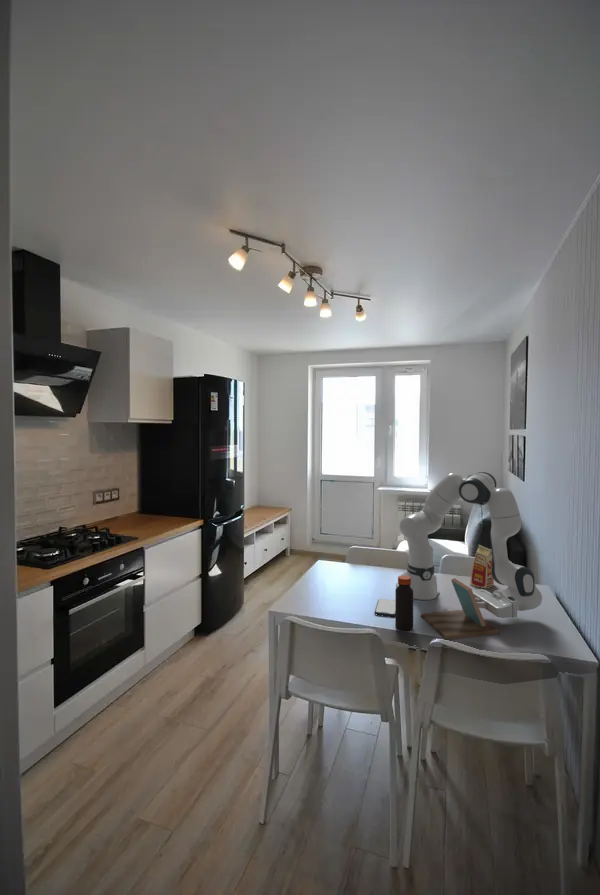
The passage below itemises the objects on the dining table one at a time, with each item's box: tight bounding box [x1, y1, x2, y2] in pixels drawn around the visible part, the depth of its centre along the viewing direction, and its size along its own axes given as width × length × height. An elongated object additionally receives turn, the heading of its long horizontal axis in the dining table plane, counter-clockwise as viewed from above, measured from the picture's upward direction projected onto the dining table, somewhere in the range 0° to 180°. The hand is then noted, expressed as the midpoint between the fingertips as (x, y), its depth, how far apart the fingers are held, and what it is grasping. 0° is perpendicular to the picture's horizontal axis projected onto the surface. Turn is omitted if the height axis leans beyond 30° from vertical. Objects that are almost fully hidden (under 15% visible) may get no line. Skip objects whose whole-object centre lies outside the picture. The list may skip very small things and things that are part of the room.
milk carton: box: [469, 544, 495, 590], centre depth 212 cm, size 9×9×20 cm
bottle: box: [394, 574, 414, 632], centre depth 167 cm, size 7×7×20 cm
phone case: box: [374, 598, 395, 618], centre depth 186 cm, size 9×2×16 cm
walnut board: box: [420, 609, 500, 640], centre depth 170 cm, size 20×22×1 cm
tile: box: [451, 578, 486, 627], centre depth 169 cm, size 12×2×16 cm, turn 11°
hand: (471, 604), depth 170 cm, fingers closed, pressing on tile
